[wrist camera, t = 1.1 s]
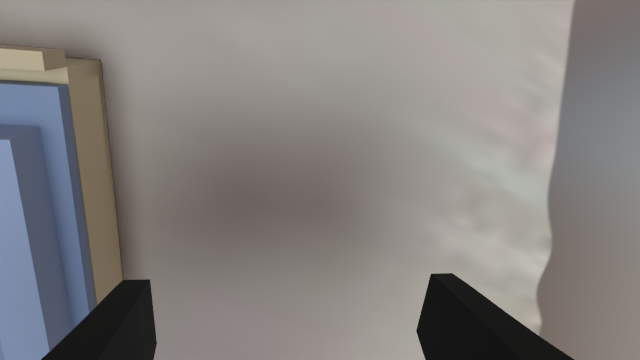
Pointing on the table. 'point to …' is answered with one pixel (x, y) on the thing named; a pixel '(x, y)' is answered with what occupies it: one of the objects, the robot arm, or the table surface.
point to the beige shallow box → (80, 147)
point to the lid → (40, 222)
